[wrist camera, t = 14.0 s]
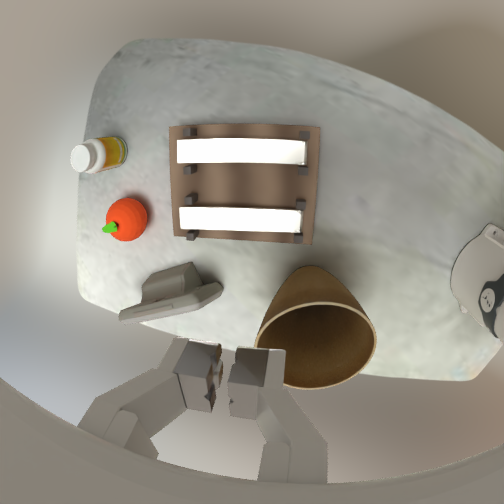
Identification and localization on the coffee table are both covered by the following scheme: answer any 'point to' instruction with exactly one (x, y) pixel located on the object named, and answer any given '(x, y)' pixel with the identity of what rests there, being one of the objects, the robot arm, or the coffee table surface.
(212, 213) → the strap
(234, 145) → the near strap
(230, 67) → the coffee table surface
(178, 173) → the strap base
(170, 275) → the digital clock
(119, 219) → the clementine
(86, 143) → the supplement bottle
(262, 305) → the coffee table surface
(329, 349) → the plant pot
